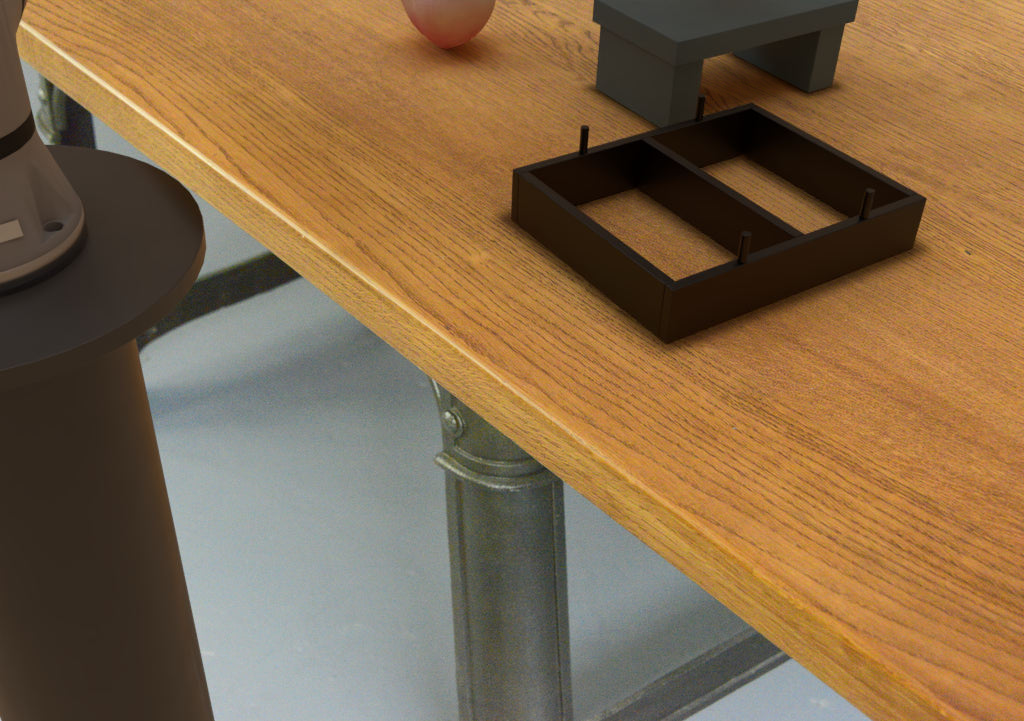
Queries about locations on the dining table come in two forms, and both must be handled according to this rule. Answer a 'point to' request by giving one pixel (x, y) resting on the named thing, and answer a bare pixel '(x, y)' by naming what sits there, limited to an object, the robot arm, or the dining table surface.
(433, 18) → the decorative fruit
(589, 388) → the dining table surface
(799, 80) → the stand
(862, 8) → the dining table surface
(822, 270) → the rack
